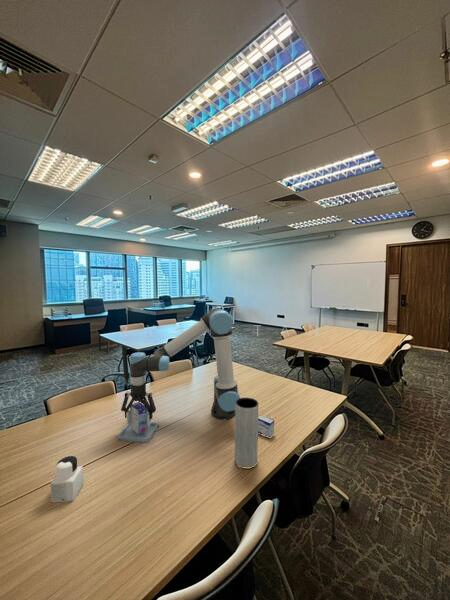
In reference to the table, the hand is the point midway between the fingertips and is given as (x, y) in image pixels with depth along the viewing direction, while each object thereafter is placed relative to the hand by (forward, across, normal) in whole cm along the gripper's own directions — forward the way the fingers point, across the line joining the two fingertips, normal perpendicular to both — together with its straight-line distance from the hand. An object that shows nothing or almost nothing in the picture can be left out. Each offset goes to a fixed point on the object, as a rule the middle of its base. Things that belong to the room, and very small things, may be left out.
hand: (138, 424), depth 132 cm
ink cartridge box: (+3, 0, 0) cm, 3 cm away
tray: (+5, 0, 0) cm, 5 cm away
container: (+5, +10, +39) cm, 41 cm away
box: (+5, -66, -6) cm, 66 cm away
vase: (+5, -56, +15) cm, 58 cm away
